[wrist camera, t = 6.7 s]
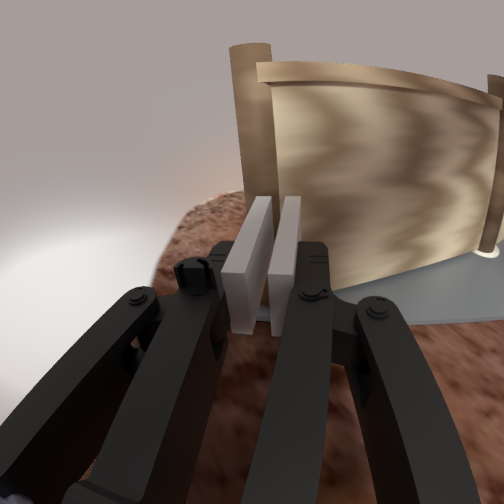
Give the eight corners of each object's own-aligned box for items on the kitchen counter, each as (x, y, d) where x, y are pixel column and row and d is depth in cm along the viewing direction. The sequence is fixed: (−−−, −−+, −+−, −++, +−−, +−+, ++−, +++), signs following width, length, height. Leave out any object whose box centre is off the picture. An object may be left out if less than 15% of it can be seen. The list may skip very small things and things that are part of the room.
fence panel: (466, 240, 22) (484, 83, 15) (479, 250, 21) (501, 87, 13) (253, 290, 20) (226, 51, 12) (259, 309, 18) (231, 44, 10)
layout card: (509, 209, 29) (510, 206, 29) (594, 306, 11) (596, 302, 11) (280, 196, 37) (279, 192, 37) (239, 319, 19) (238, 313, 18)
